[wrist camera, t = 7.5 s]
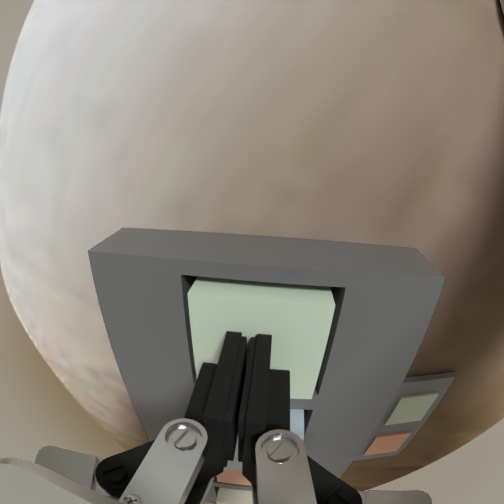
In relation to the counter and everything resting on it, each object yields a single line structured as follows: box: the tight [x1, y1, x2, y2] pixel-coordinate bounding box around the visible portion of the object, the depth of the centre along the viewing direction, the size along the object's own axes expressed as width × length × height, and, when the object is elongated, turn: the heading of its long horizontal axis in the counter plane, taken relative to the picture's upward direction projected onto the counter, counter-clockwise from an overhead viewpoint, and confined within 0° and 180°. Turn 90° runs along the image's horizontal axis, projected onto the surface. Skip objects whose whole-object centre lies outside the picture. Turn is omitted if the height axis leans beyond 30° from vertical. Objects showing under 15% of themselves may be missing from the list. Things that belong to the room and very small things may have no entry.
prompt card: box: [353, 372, 456, 461], centre depth 16 cm, size 5×11×1 cm, turn 177°
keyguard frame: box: [88, 228, 446, 503], centre depth 16 cm, size 14×28×3 cm, turn 178°
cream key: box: [216, 487, 253, 504], centre depth 19 cm, size 5×5×3 cm
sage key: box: [187, 276, 335, 399], centre depth 12 cm, size 5×5×3 cm
